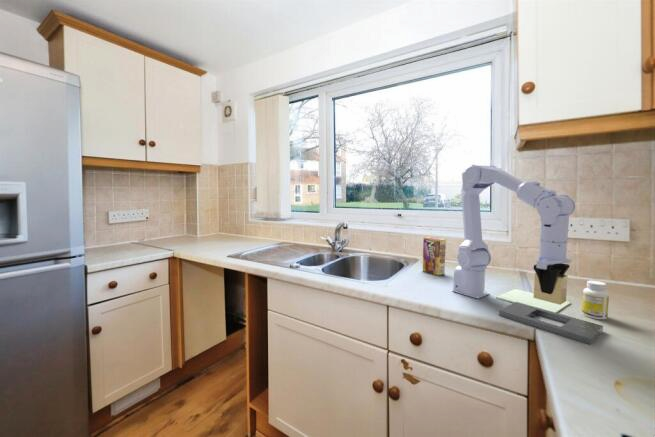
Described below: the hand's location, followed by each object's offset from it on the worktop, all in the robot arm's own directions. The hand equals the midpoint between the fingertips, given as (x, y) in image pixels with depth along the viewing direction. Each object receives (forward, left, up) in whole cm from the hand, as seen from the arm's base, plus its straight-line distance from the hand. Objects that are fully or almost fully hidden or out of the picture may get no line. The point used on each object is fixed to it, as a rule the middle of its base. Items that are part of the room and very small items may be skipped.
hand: (549, 291), depth 78 cm
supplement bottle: (+6, +16, -9) cm, 19 cm away
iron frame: (0, 0, -9) cm, 9 cm away
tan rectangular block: (0, 0, -2) cm, 2 cm away
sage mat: (-9, +15, -9) cm, 20 cm away
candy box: (-48, +18, -9) cm, 52 cm away
